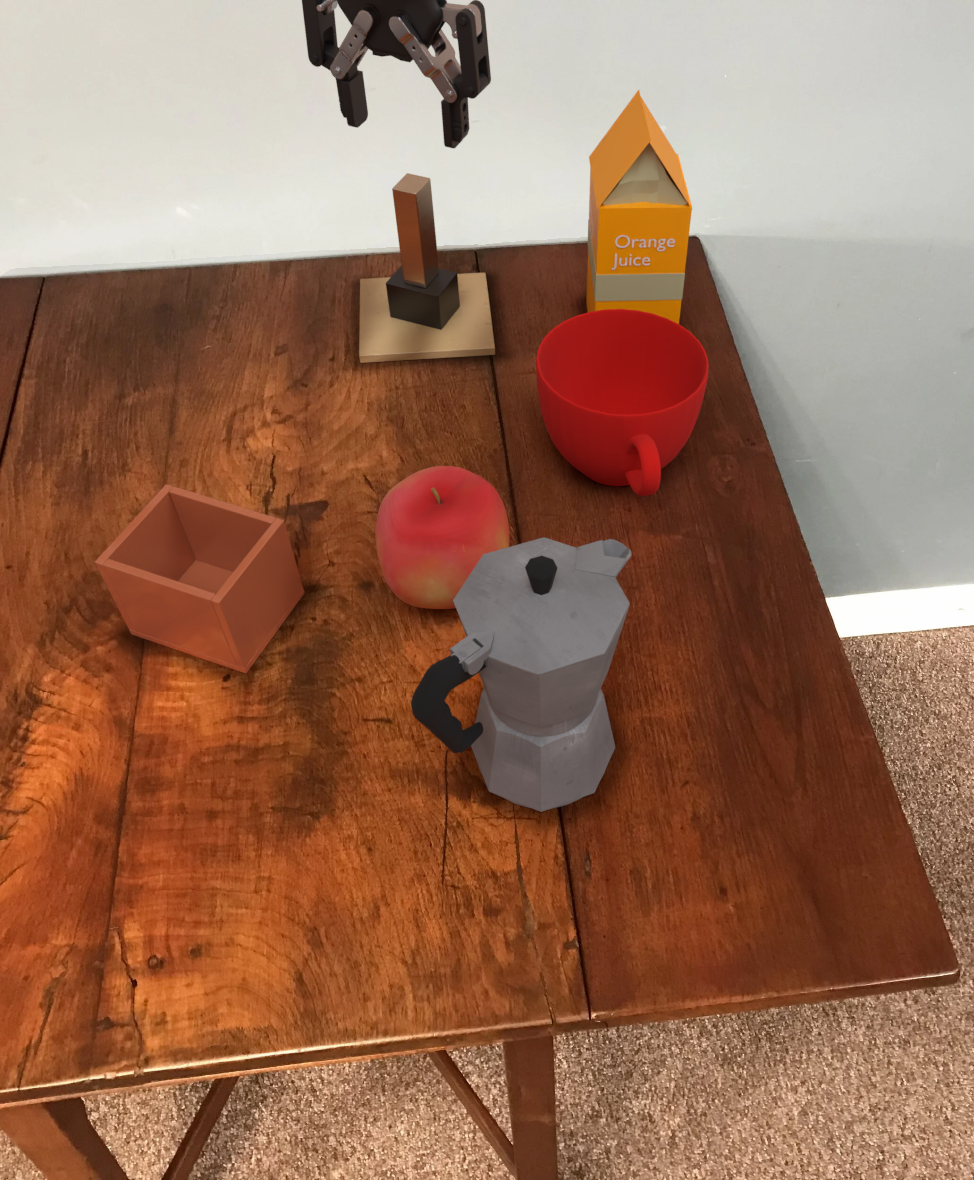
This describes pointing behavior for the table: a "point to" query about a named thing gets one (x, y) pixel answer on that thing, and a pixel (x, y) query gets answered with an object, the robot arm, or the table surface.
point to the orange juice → (637, 218)
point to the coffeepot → (534, 669)
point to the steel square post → (419, 260)
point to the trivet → (415, 341)
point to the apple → (437, 533)
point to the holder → (203, 577)
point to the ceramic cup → (621, 394)
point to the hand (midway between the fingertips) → (405, 133)
